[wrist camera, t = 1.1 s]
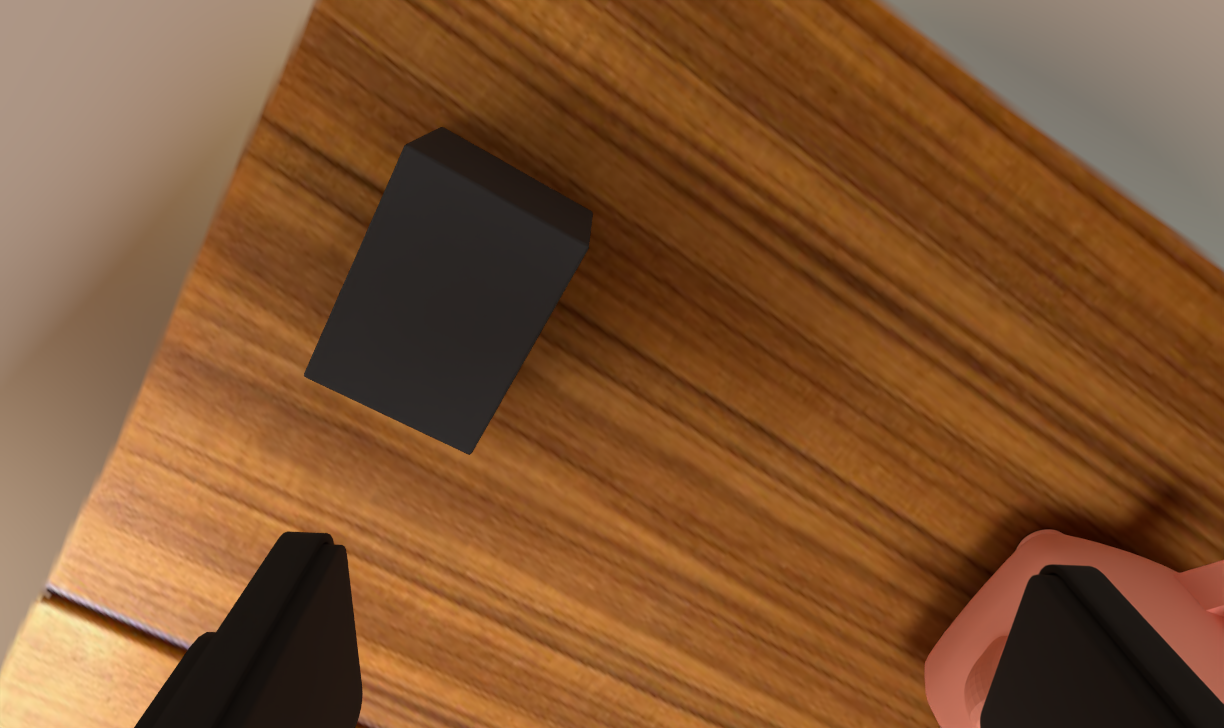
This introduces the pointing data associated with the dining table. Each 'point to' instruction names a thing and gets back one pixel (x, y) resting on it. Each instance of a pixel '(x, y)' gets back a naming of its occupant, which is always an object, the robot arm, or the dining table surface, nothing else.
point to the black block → (449, 289)
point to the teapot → (1170, 601)
